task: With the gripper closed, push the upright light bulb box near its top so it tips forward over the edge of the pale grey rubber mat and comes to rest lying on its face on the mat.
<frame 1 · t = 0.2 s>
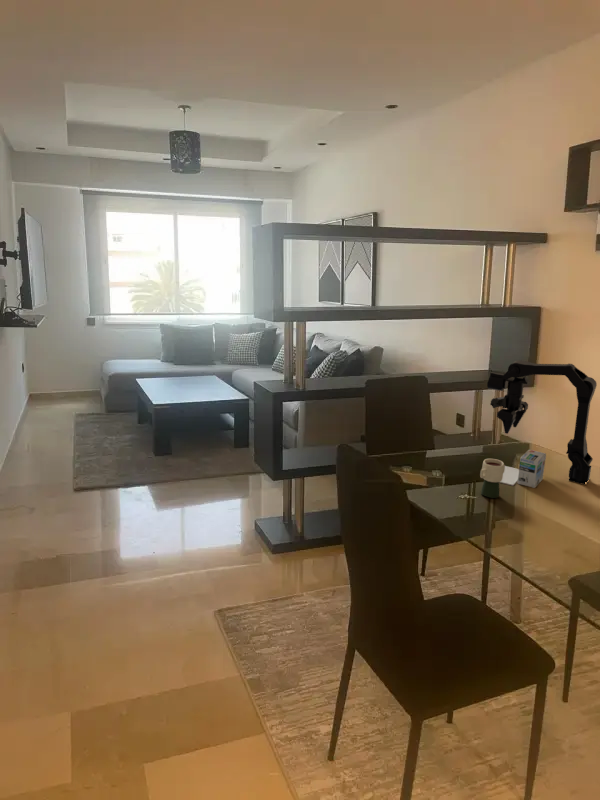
hand: (510, 430, 239), 14 cm above the table, fingers open, 9 cm apart
character mug: (489, 496, 215), on the table
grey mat: (503, 474, 233), on the table
light bulb box: (529, 481, 227), on the table
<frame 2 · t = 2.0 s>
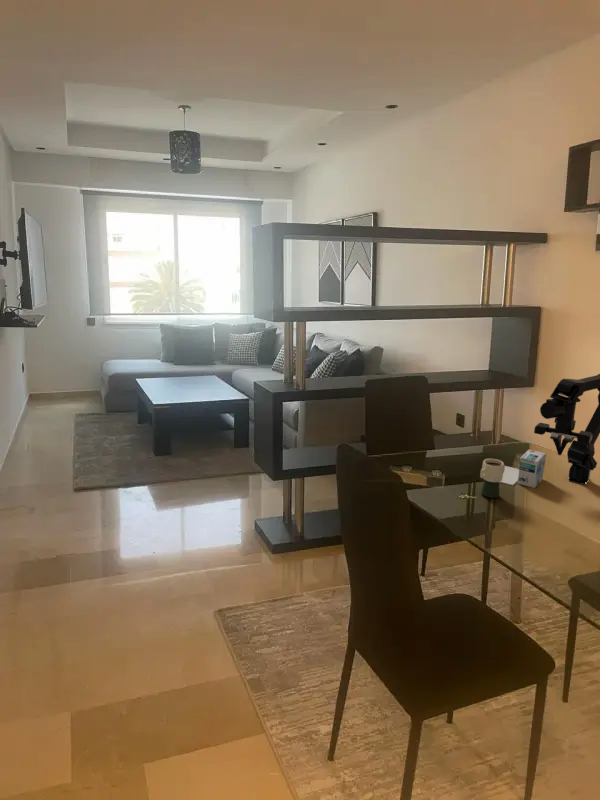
hand: (559, 454, 218), 13 cm above the table, fingers closed
nothing on the table moved.
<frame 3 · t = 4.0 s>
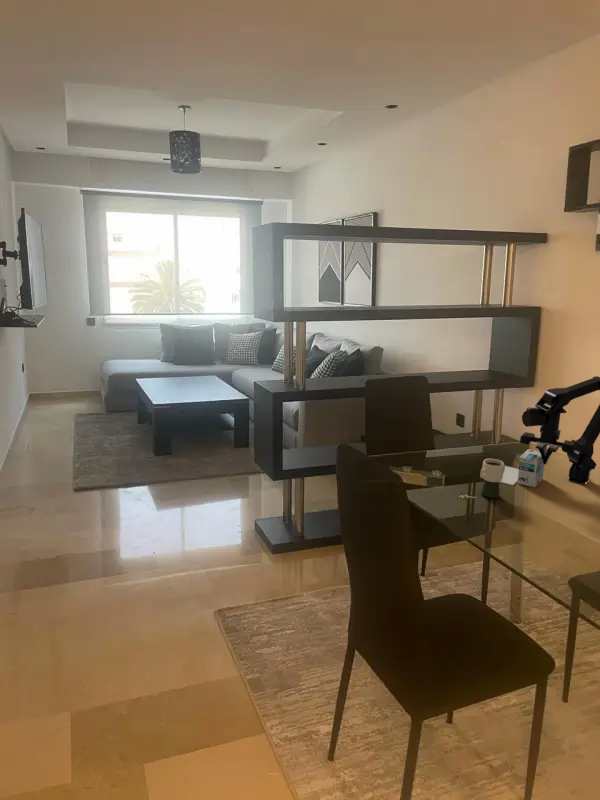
hand: (545, 464, 222), 8 cm above the table, fingers closed
light bulb box: (530, 481, 227), on the table, touching gripper
everything else where it was.
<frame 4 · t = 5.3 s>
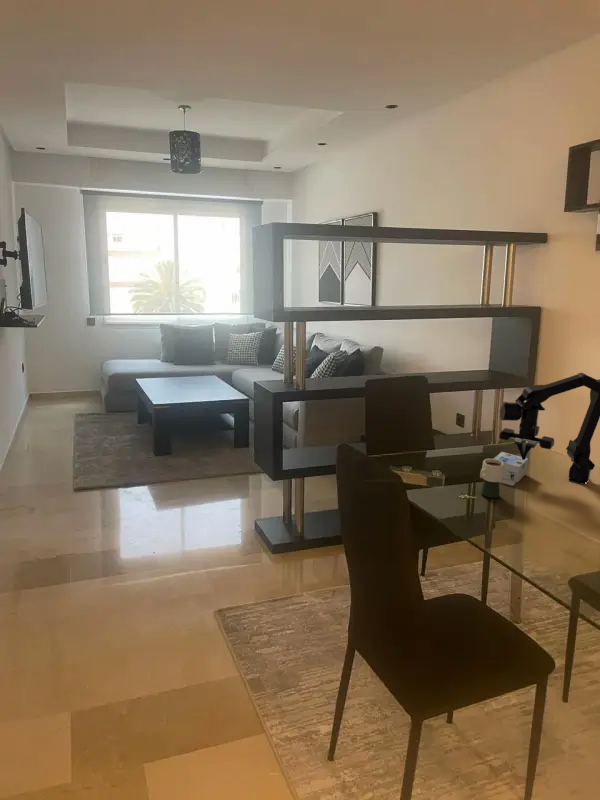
hand: (523, 459, 226), 8 cm above the table, fingers closed
light bulb box: (523, 470, 228), point 4 cm above the table, touching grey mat
everything else where it was.
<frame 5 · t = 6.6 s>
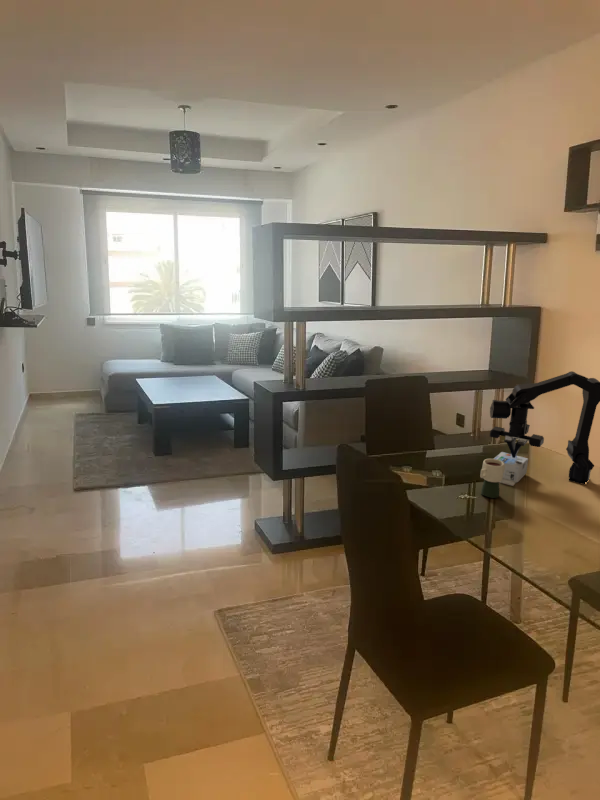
hand: (513, 457, 229), 8 cm above the table, fingers closed
nothing on the table moved.
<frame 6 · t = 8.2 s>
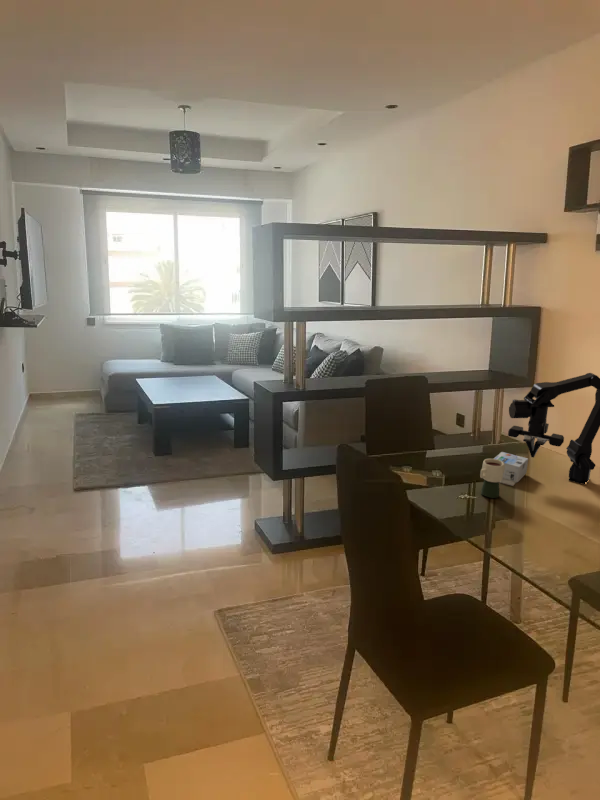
hand: (532, 457, 224), 10 cm above the table, fingers closed
nothing on the table moved.
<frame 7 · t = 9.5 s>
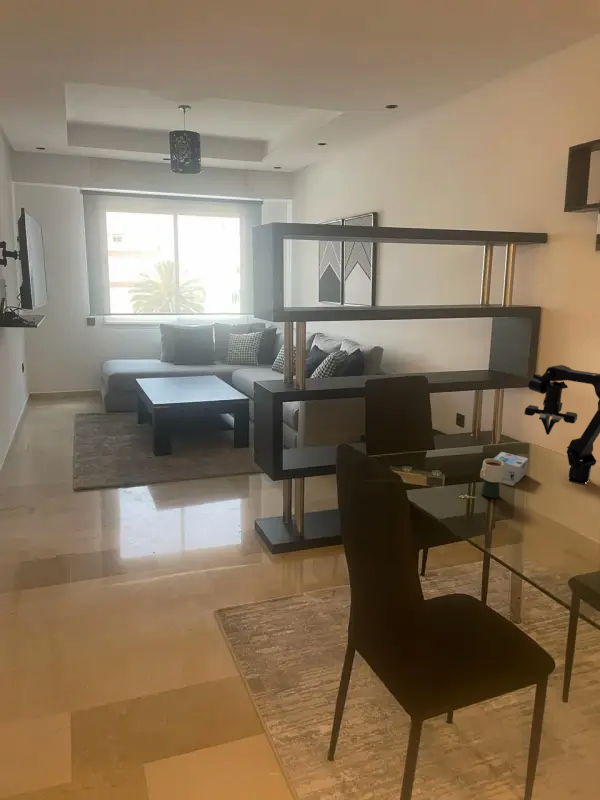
hand: (547, 434, 239), 13 cm above the table, fingers closed
nothing on the table moved.
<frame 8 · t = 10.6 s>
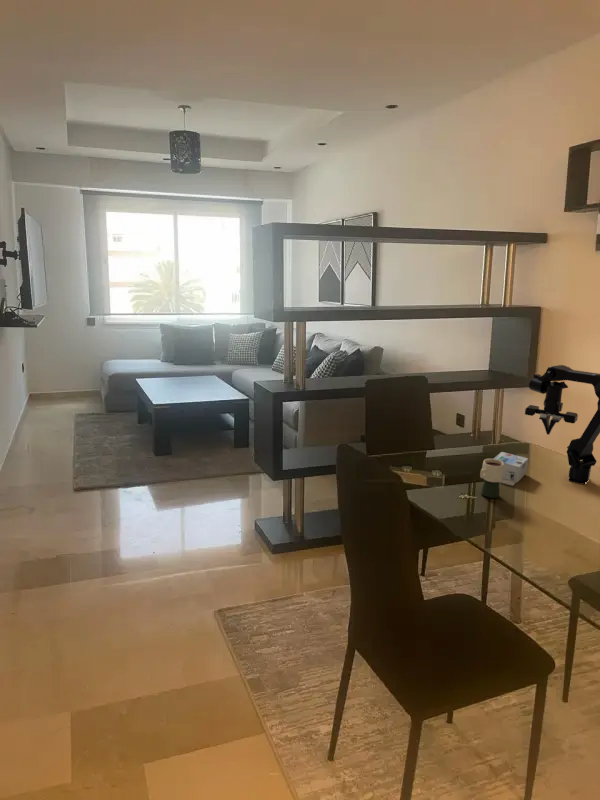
hand: (548, 434, 239), 13 cm above the table, fingers closed
nothing on the table moved.
at the end: light bulb box tilted 89°; light bulb box inside the target area (7.2 cm from its centre), point 3.6 cm above the table; the gripper is holding nothing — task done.
